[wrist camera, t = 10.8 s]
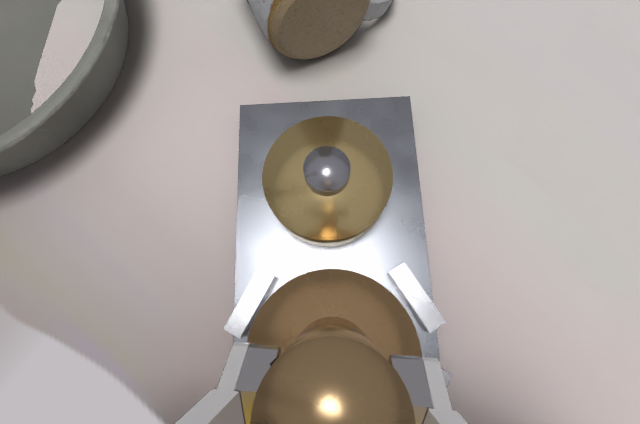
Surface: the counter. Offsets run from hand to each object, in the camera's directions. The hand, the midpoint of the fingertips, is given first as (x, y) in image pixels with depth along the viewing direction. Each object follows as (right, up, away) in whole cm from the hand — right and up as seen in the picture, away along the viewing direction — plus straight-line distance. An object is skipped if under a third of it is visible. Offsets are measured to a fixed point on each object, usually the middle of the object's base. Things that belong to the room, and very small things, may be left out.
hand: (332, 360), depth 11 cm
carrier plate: (0, +2, +9) cm, 9 cm away
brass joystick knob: (0, -2, +6) cm, 6 cm away
